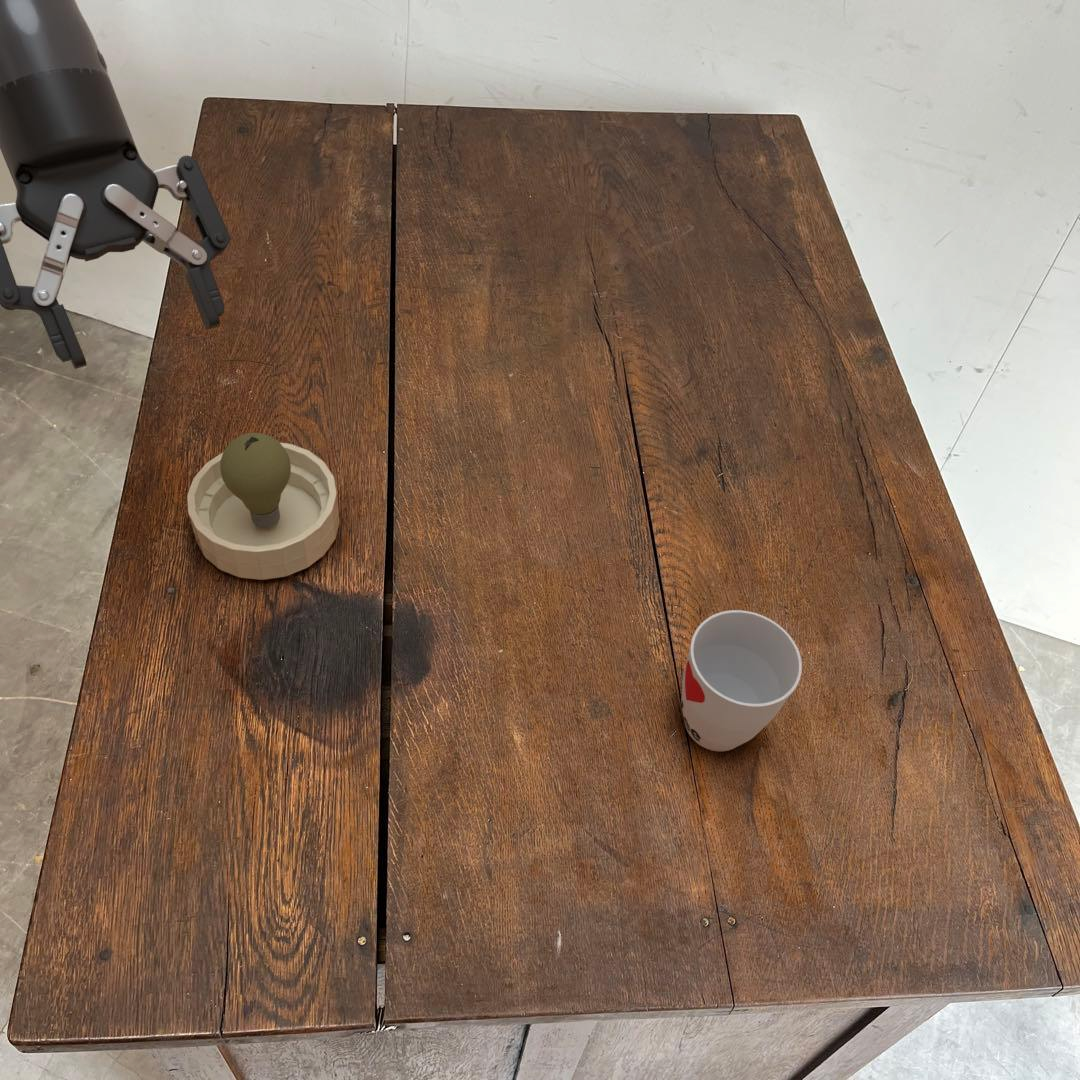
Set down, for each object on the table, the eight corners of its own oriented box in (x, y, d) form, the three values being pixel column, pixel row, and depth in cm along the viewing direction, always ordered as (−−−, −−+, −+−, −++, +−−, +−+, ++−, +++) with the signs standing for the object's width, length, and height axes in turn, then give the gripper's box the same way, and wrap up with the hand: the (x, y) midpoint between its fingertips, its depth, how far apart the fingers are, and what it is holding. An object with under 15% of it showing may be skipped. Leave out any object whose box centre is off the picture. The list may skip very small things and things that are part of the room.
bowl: (228, 604, 85) (219, 572, 82) (176, 505, 91) (166, 471, 88) (362, 549, 90) (360, 517, 86) (305, 458, 96) (300, 424, 92)
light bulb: (242, 494, 92) (225, 414, 84) (305, 501, 92) (293, 422, 84) (226, 543, 88) (206, 464, 80) (291, 550, 88) (277, 472, 81)
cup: (673, 668, 85) (697, 599, 77) (770, 691, 84) (805, 623, 76) (659, 755, 80) (683, 691, 72) (762, 780, 79) (798, 717, 71)
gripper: (156, 87, 69) (245, 323, 72) (-74, 132, 63) (33, 386, 66) (167, 43, 62) (265, 306, 65) (-89, 89, 56) (31, 374, 60)
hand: (148, 346), depth 66 cm, fingers open, 8 cm apart
